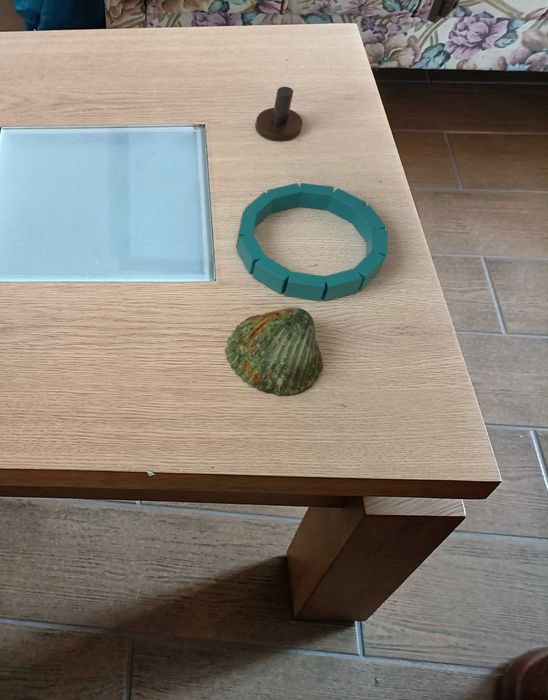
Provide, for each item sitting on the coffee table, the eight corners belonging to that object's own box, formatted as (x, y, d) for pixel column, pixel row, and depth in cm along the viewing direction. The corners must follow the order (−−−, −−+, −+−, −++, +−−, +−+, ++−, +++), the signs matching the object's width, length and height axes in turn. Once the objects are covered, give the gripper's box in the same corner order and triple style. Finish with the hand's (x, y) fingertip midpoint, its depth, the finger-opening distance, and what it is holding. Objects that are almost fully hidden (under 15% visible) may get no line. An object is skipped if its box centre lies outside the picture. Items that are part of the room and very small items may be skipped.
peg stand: (296, 112, 92) (304, 75, 88) (304, 140, 89) (313, 103, 84) (252, 114, 92) (258, 78, 88) (258, 142, 89) (265, 106, 84)
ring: (339, 186, 83) (344, 171, 81) (408, 279, 74) (415, 264, 72) (217, 216, 82) (219, 201, 80) (272, 315, 72) (275, 300, 71)
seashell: (212, 329, 67) (278, 276, 70) (206, 351, 70) (269, 299, 74) (291, 395, 63) (357, 336, 66) (281, 415, 66) (344, 357, 70)
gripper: (600, -237, 43) (490, 11, 56) (398, -271, 49) (341, -40, 63) (548, -202, 40) (445, 50, 54) (341, -242, 47) (294, -7, 60)
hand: (389, 1), depth 58 cm, fingers open, 8 cm apart
